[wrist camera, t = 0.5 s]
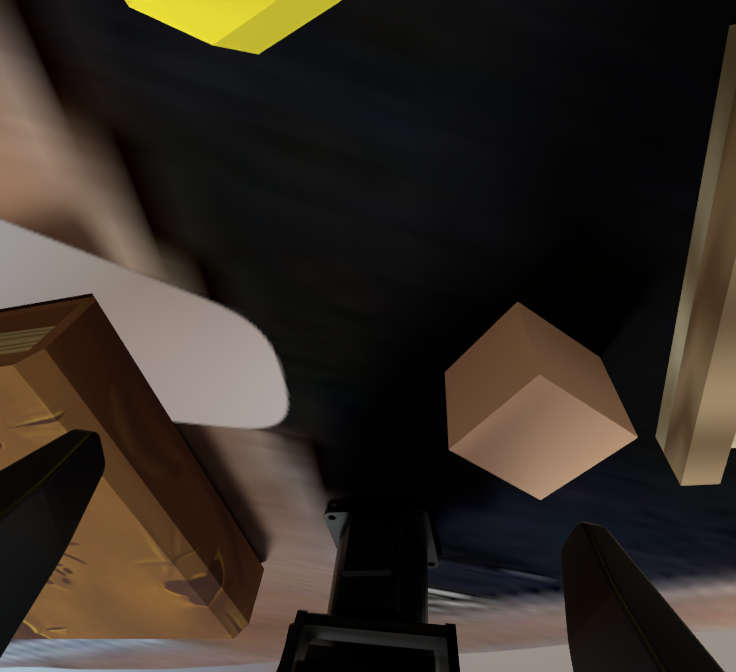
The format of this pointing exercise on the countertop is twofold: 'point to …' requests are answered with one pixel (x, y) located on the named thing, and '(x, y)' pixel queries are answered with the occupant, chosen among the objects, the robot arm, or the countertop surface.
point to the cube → (533, 405)
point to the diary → (120, 489)
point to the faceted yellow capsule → (235, 19)
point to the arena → (707, 312)
